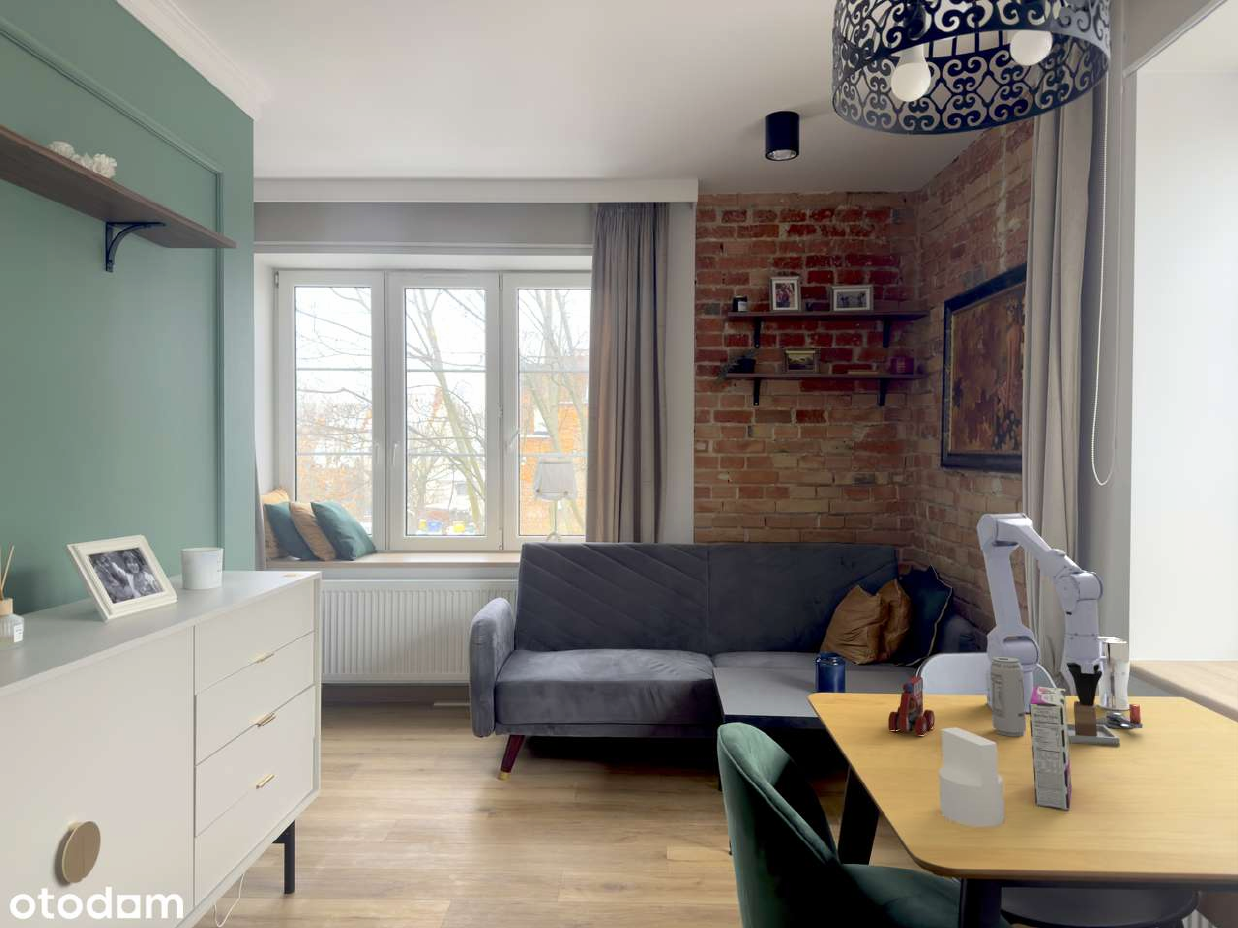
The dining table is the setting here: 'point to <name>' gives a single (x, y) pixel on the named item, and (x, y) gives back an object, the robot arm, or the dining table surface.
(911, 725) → the toy fire truck
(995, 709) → the energy drink can
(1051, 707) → the candy bar box
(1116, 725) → the crank hub
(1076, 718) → the block
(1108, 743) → the tray
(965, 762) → the base with upright slab
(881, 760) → the dining table surface
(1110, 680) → the beer glass
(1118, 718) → the crank
